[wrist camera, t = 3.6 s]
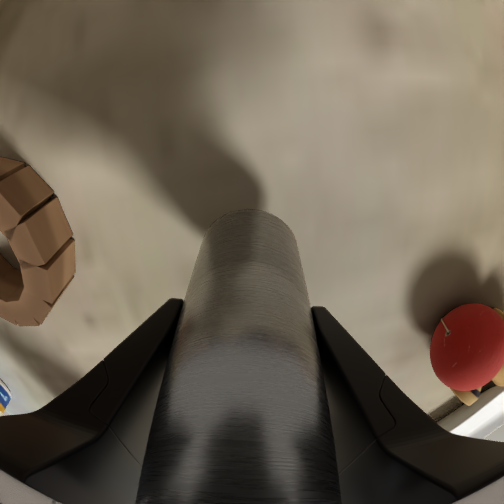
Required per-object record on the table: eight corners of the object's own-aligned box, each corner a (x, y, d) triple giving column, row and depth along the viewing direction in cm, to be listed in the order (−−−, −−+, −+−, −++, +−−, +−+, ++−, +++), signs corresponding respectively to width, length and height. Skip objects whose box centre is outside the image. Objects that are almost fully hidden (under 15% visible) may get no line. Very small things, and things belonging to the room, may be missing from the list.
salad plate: (519, 393, 28) (526, 408, 26) (424, 456, 38) (428, 471, 35) (498, 365, 22) (510, 388, 19) (363, 452, 31) (366, 473, 28)
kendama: (521, 326, 21) (488, 263, 14) (540, 375, 16) (531, 351, 9) (469, 362, 25) (398, 329, 18) (482, 410, 21) (419, 414, 13)
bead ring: (46, 317, 18) (29, 345, 15) (-36, 232, 14) (-59, 252, 12) (102, 238, 14) (76, 270, 12) (-5, 126, 11) (-41, 140, 8)
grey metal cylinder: (246, 305, 14) (236, 530, 5) (182, 250, 12) (101, 499, 4) (316, 257, 12) (374, 511, 4) (253, 189, 11) (242, 506, 2)
